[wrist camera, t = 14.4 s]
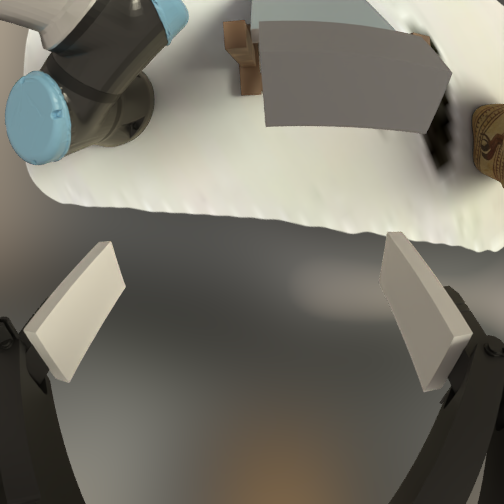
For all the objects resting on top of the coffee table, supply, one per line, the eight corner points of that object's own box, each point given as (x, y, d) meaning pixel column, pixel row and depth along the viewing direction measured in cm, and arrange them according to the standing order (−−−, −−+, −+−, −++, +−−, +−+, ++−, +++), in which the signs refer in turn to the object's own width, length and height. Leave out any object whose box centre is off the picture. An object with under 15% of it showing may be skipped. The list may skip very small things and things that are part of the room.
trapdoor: (253, 127, 22) (243, 53, 15) (254, 4, 35) (250, -31, 28) (434, 135, 20) (462, 75, 14) (350, 7, 33) (353, -27, 27)
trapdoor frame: (242, 95, 41) (222, 93, 25) (237, 27, 36) (215, -15, 19) (376, 97, 40) (436, 102, 23) (373, 31, 34) (428, 2, 17)
